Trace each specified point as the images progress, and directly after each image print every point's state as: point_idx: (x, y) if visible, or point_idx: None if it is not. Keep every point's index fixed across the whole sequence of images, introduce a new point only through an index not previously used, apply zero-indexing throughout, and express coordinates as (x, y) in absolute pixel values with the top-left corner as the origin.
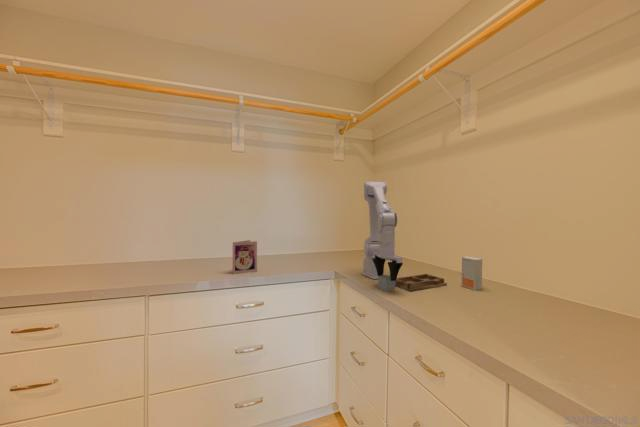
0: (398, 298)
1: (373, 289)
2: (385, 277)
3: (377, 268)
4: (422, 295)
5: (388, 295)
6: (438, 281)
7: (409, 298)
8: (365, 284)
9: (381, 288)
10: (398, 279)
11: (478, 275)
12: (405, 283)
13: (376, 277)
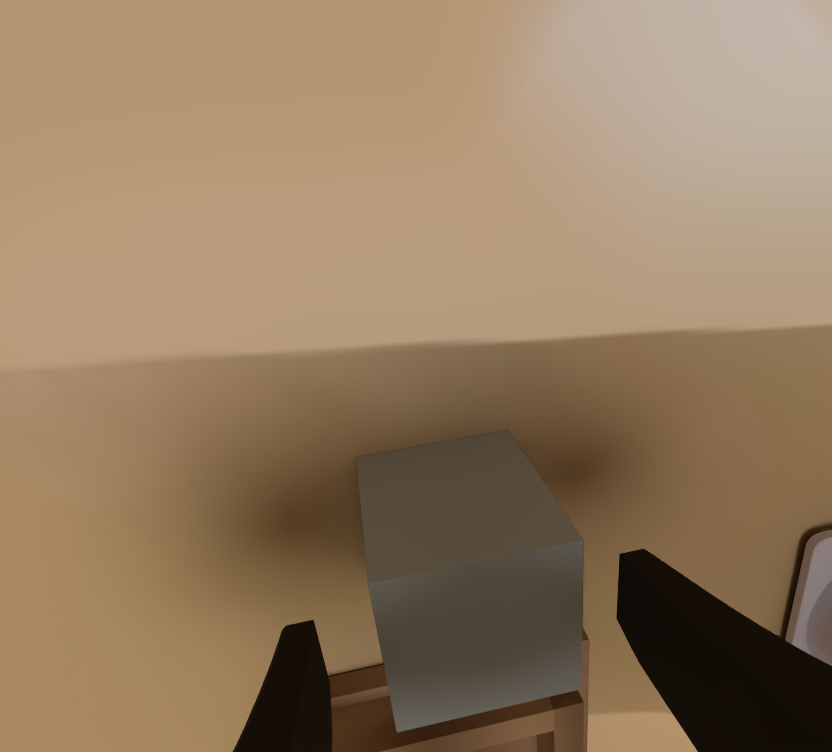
0: (54, 477)
1: (490, 349)
2: (441, 604)
3: (730, 653)
4: (129, 739)
5: (198, 416)
6: None
7: (40, 590)
8: (714, 350)
9: (446, 450)
10: (550, 738)
11: None
12: (368, 746)
13: (823, 579)
